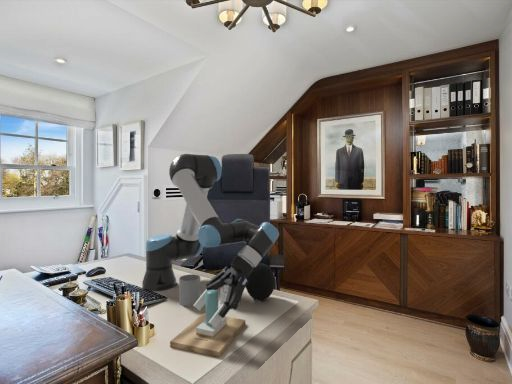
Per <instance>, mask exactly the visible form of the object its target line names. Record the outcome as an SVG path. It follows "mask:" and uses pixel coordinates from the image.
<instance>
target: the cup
mask: <svg viewBox="0 0 512 384" xmlns="http://www.w3.org/2000/svg"><path fill="white" fill-rule="evenodd" d="M178 282H179V283H178V285H179V286H178V287H179V288H178V289H179V290H178V293H179V295H178V296H179V297H178V299H179V301H178V302H179V305H180V306H183V307H194V306H193V305H194V304H195V303H196V301H197V300H198V299H199V298H200V296H201V276H200V275H199V274H191V273H190V274H184V275H182V276H180V277H179V278H178Z"/></svg>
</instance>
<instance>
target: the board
mask: <svg viewBox="0 0 512 384" xmlns="http://www.w3.org/2000/svg"><path fill="white" fill-rule="evenodd" d="M224 318H226V319H227V325H226V326H225V327H224V328H223V329H222V330H221V331H220V332H219V333H218V334H217V335H216V336H215V337H214V338H210V337H206V336H202V335H197V334H196V327H198V326H199V325H200V324H201V323H203V322H204V321H205V320H206V312H203V313H202V314H201V315H200V316H198V317H197V318H196V319H195V320H194V321H192V322H191V323H190V324H189V325H188V326H186V328H184V329H183V330H182V331H180V333H178V334H177V335H176V336H175V337H173V338H172V339H171V340H170V341H169V347H171V348H175V349H180V350H185V351H190V352H194V353H198V354H202V355H206V356H207V355H208V356H212V357H216V358H220V357H221V356H222V354H223V353H224V352H225V351H226V350H227V348H228V347H229V346H230V345H231V344H232V342H233V341H234V339H235V338H236V337H237V335H238V334H239V333H240V332H241V331H242V329H243V328H244V327H245V325H246V319H243V318H242V319H241V318H236V317H230V316H225V317H224Z"/></svg>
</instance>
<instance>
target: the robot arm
mask: <svg viewBox="0 0 512 384" xmlns="http://www.w3.org/2000/svg"><path fill="white" fill-rule="evenodd" d="M168 171H169V173H168V175H169V178H170V181H171V182H172V184H173V186H174V187H177V189H178V190H179V192H180V193H181V196H182V197H183V199H184V201H185V203H186V204H185V208H184V213H183V217H182V223H181V227H180V228H178V229H177V230H176V235H175V236H173V235H172V234H170V233H165V234H155V235H154V236H151V237H149V238H148V239H147V240H146V243H145V244H146V246H145V260H146V262H145V265H146V266H145V267H146V269H145V272H144V275H143V280H142V283H141V284H142V285H141V286H142V289H143V288H144V289H143V290H145V289H147V290H146V291H149V290H150V292H151V291H152V292H159V291H164V290H165V291H166V290H169V289H172V288H174V287H175V286H176V285H177V279H176V276H175V273H174V270H173V262H174V261H175V262H176V261H181V260H187V259H193V258H196V257H198V256H200V254H201V253H202V251H203V248H216V247H221V246H226V245H232V244H233V245H234V244H239V243H244V246H242V248H241V249H240V251H239V252H238V253H237V255H236V256H235V257H234V258H233V259H232V261H231V262H230V266H231V267H232V268H231V267H230V268H231V269H230V268H229V267H228V266H225V267H224V268H223V269H222V270H221V271H219V273H217V274H216V275H215V276H213V277H212V278H211V279H209V280H208V281H207V282H206V283H205V285H204V286H205V290H204V291H203V292H202V294H200V298H199V299H198V300H197V301H196V303H195V304H194V305H193V306H192V307H195V308H196V309H197V310H198V311H201V310H202V308H203V307H204V306H205V305H206V291H208V290H217V291H218V290H220V288H221V287H222V286H224V285H229V290H228V294H227V298H226V302H223V303H224V304H220V306H219V307H218V310H217V312H216V313H215V314H214V315H213V317H212V318H211V319H210V321H209V323H210V324H211V325H212V326H214V327H215V328H216V327H217V325H218V324H219V323H220V321H221V320H222V319H223V318H224V317H226V315H227V314H228V312H229V311H230V310H235V311H236V310H237V309H238V307H239V304H240V301H241V299H242V297H243V294H244V291H245V289H246V285H247V284H248V282H249V281H248V280H247V279H246V278H248V277H249V275H250V274H251V273H252V271H253V267H254V268H255V267H256V266H257V265H258V263H261V260H262V259H263V258H264V257H265V255H266V254H267V253H268V251H269V250H270V249H271V248H272V247H273V245H274V244H275V242H276V241H277V239H278V238H279V237H280V231H279V230H278V229H277V228H276V227H275V226H274V224H272V223H270V222H268V221H265V222H262V223H260V225H256V224H254V223H252V222H249V221H248V220H246V219H241V218H236V219H235V220H233V221H232V222H226V223H225V222H224V223H223V222H222V220H221V219H220V217H219V215H218V214H217V213H216V211H215V209H214V208H213V206H212V204H211V203H210V201H209V200H208V194H209V190H210V189H212V188H213V187H214V184H215V182H218V181H219V180H220V179H221V177H222V173H223V172H222V164H221V162H220V160H219V158H217V156H213V155H208V154H191V153H181V154H179V155H178V156H176V157H175V158H174V159H173V160H172V162H171V164H170V166H169V170H168Z"/></svg>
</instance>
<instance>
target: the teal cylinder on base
mask: <svg viewBox="0 0 512 384" xmlns="http://www.w3.org/2000/svg"><path fill="white" fill-rule="evenodd" d="M218 309H219V291H218V289H217V290H208V291H206V303H205V313H206V320H205V321H204V322H203V323H201V324H200V325H199V326H198V327H196V334H197V335H202V336H206V337H210V338H214V337H215V336H216V335H217V334H218V333H219V332H220V331H221V330H222V329H223V328H224V327H225V326H226V325H227V319H226V318H223V319H222V320H221V321H220V323H219V324H218V325H217V327H216V328H215V327H214V326H212V325H211V324H210V323H209V321H210V319H211V318H212V317H213V315H214V314H215V313H216V312H217V310H218Z"/></svg>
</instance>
